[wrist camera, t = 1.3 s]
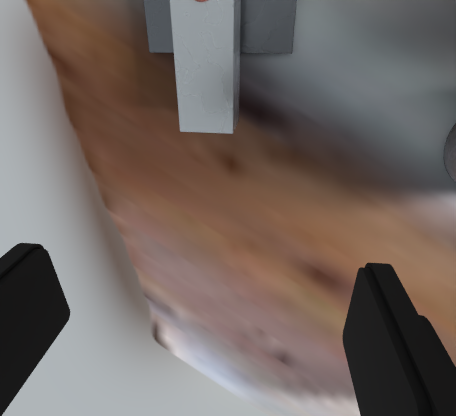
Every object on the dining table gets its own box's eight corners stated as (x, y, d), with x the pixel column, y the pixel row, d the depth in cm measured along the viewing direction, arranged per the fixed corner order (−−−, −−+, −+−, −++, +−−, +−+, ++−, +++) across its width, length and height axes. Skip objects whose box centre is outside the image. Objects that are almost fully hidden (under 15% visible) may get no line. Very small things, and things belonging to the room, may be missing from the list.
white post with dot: (242, -107, 19) (234, -140, 16) (238, 120, 26) (232, 134, 22) (180, -104, 20) (158, -134, 16) (192, 118, 27) (179, 132, 23)
